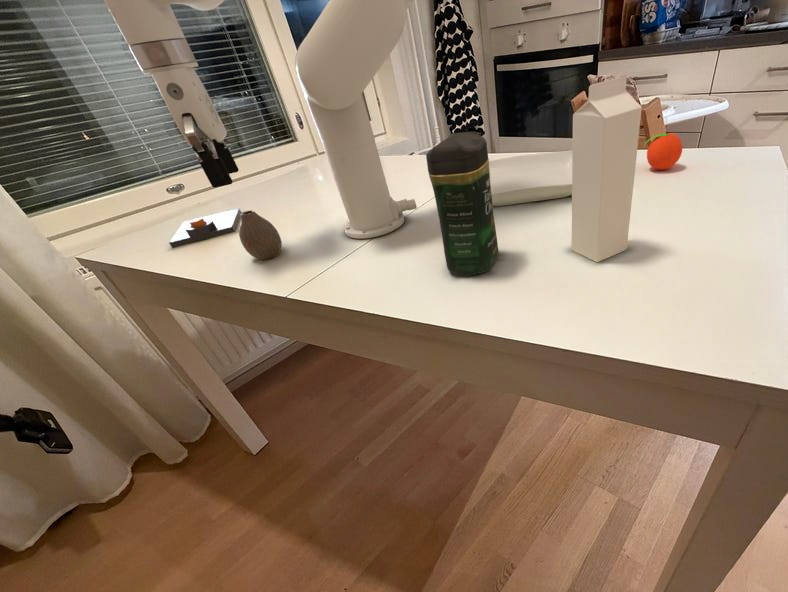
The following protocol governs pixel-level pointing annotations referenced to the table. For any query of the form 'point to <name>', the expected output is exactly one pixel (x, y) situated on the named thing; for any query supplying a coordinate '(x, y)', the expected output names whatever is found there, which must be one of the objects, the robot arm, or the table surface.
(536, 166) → the square plate
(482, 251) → the coffee jar
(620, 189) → the milk
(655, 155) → the tomato
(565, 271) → the table surface
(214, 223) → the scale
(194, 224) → the orange angular block
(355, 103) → the robot arm
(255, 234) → the vase
